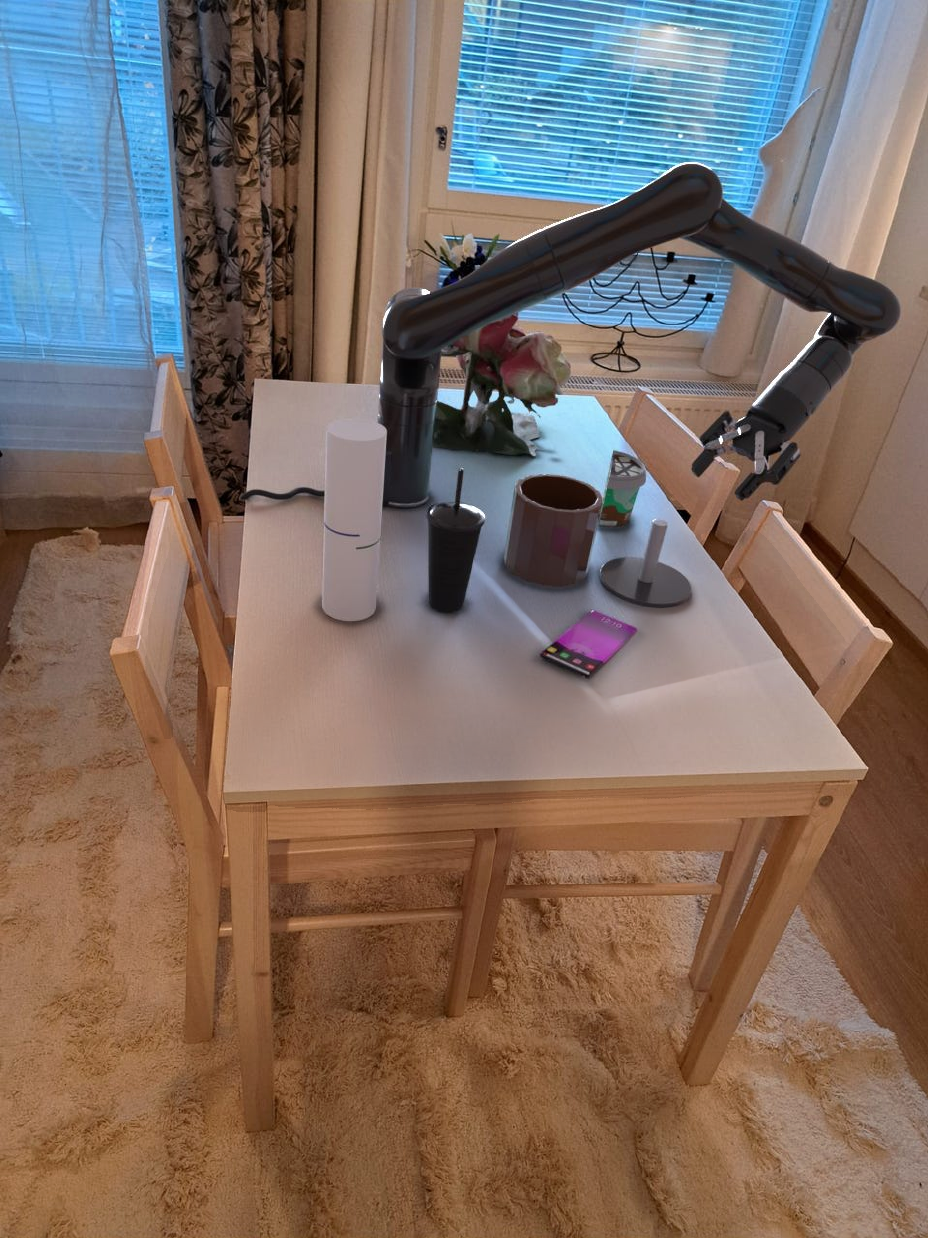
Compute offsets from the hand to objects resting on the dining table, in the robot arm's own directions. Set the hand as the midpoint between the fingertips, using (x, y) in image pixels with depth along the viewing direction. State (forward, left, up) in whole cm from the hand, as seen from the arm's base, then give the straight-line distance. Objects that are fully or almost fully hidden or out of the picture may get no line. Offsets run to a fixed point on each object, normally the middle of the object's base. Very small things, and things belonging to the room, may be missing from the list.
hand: (715, 484), depth 128 cm
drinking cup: (-41, +3, -15) cm, 44 cm away
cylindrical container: (-54, +6, -15) cm, 56 cm away
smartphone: (-27, -12, -15) cm, 33 cm away
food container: (-1, +19, -15) cm, 24 cm away
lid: (-10, -1, -14) cm, 18 cm away
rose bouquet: (-5, +61, -15) cm, 63 cm away
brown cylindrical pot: (-22, +8, -15) cm, 28 cm away
